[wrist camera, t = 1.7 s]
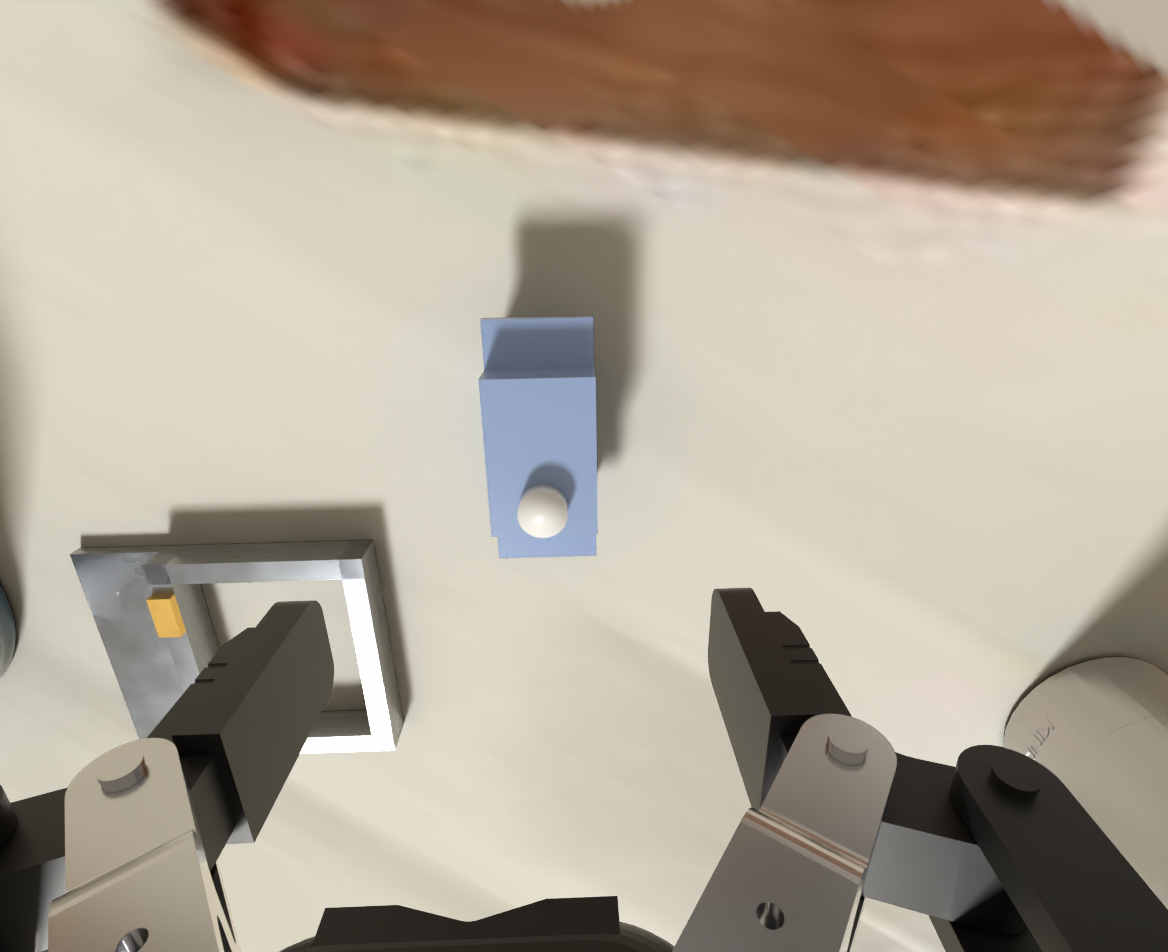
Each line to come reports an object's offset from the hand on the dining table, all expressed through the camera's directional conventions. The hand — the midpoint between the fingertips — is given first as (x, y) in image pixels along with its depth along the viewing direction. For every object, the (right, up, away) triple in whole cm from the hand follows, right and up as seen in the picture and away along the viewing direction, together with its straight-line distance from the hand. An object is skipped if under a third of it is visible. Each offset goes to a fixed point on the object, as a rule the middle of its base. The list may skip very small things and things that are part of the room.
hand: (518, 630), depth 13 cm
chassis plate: (-15, -5, +18) cm, 24 cm away
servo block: (0, +6, +14) cm, 15 cm away
